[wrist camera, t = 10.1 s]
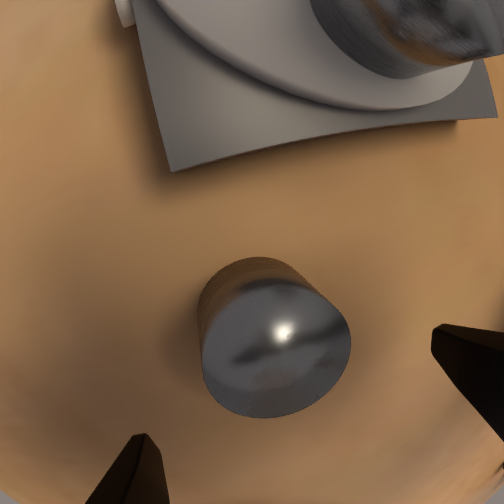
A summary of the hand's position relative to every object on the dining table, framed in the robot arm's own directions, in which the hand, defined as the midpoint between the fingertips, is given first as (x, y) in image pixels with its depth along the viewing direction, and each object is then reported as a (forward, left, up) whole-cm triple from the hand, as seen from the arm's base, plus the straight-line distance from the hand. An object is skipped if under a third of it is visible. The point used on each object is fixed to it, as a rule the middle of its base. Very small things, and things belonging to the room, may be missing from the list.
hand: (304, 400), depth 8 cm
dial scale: (+14, -6, -6) cm, 16 cm away
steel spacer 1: (0, 0, -6) cm, 6 cm away
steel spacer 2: (+11, -6, -2) cm, 12 cm away
